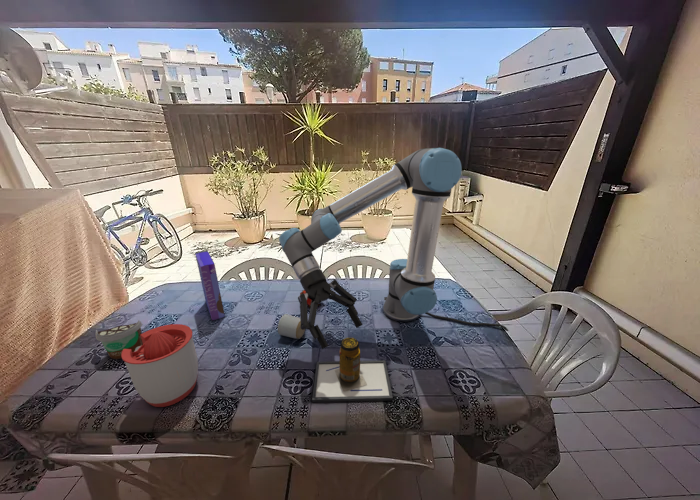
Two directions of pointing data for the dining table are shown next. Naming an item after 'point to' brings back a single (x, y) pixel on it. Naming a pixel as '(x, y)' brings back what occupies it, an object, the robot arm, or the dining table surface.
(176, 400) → the citrus juicer
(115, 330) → the food container
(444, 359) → the dining table surface
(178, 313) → the dining table surface
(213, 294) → the cereal box
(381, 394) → the whiteboard
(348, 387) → the condiment
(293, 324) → the ceramic mug
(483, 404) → the dining table surface
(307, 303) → the dragon fruit
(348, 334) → the dining table surface
